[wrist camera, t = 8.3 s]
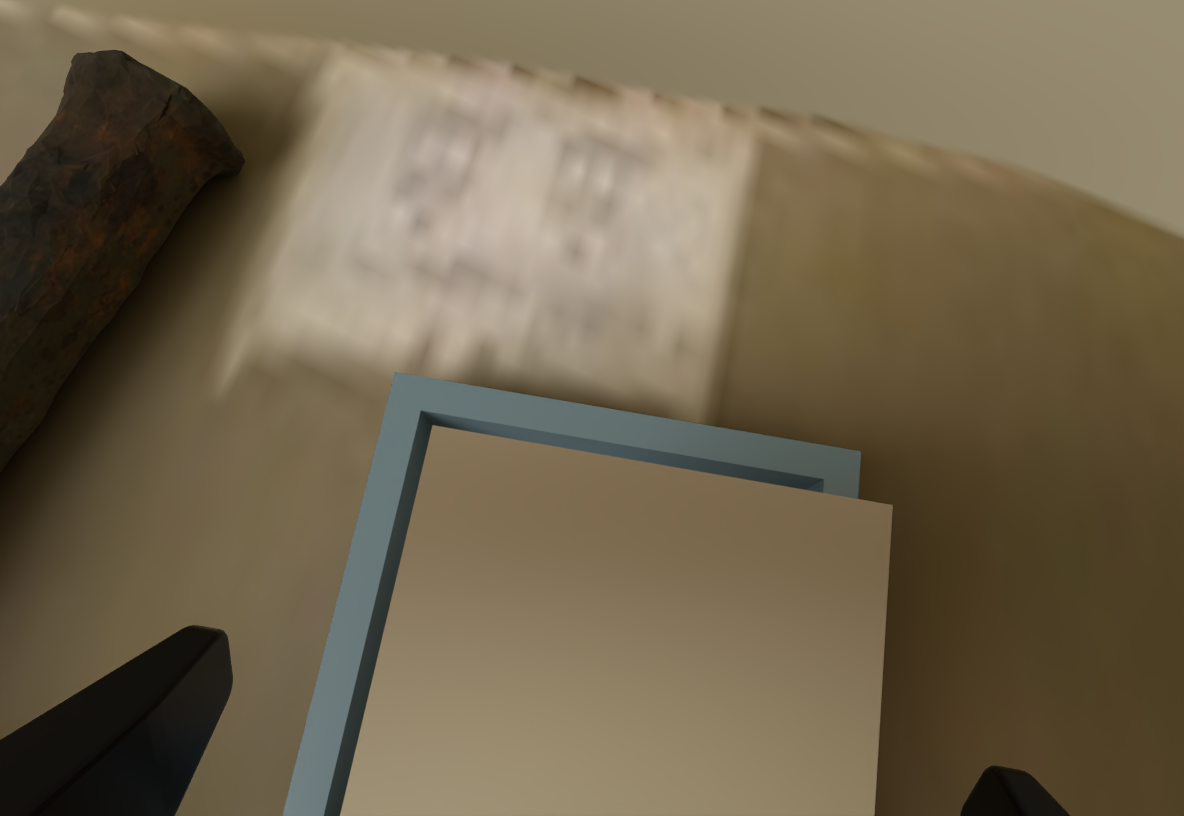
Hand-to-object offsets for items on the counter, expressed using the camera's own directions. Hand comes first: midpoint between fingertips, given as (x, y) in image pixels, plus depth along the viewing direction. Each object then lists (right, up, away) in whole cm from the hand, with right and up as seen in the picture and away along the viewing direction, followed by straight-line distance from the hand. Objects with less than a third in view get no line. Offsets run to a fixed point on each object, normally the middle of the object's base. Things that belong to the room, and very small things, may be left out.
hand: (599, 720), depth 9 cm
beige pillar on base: (0, -2, +9) cm, 9 cm away
